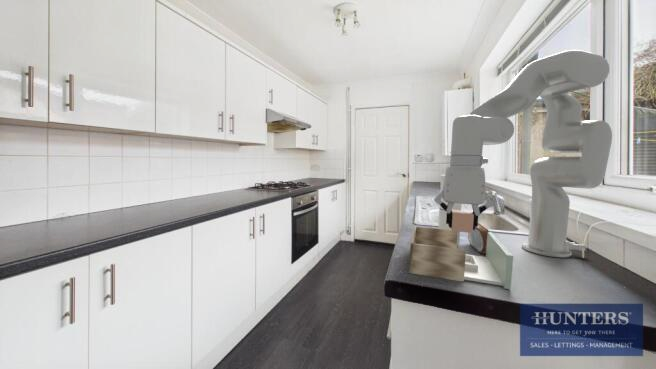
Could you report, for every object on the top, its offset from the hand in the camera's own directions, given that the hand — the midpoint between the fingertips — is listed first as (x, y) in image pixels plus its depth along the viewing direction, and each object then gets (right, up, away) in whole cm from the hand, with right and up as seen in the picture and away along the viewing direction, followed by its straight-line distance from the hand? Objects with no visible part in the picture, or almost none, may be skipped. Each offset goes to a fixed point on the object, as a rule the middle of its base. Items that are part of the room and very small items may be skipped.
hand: (461, 227), depth 71 cm
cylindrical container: (+7, -10, +22) cm, 25 cm away
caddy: (-6, -11, +3) cm, 13 cm away
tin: (+14, -11, +16) cm, 24 cm away
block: (0, -1, 0) cm, 1 cm away
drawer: (+3, -11, 0) cm, 12 cm away
